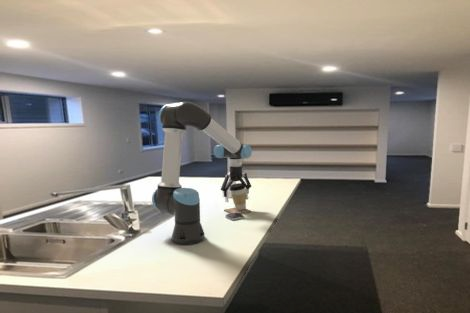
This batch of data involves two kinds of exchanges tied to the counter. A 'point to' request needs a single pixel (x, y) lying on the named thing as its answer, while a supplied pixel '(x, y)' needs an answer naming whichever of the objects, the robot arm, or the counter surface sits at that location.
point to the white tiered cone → (229, 188)
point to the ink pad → (234, 216)
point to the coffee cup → (238, 196)
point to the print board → (236, 211)
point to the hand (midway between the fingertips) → (236, 200)
